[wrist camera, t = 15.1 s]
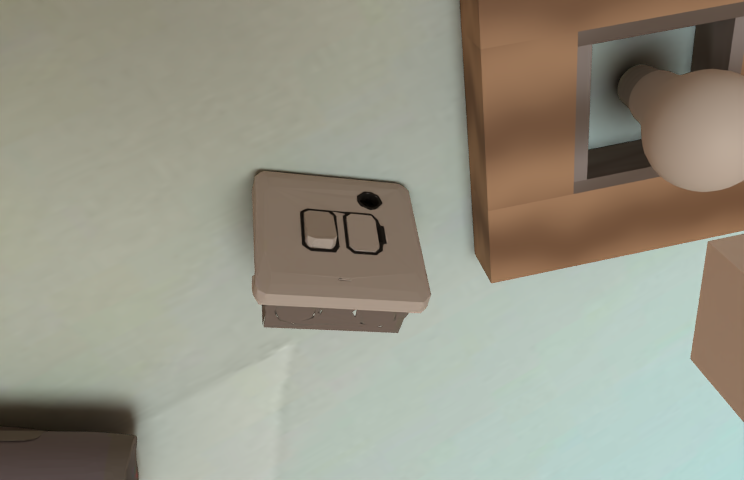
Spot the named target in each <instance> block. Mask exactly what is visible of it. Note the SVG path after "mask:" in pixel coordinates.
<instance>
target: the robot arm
mask: <svg viewBox="0 0 744 480" xmlns="http://www.w3.org/2000/svg"><path fill="white" fill-rule="evenodd" d="M690 359H691V360H692V361H693V363H694V364H695V365H696V366H697V367H698V368H699V370H700V371H701V372H702V373H703V374H704V376H705V377H706V378H707V379H708V380H709V381H710V383H711V384H712V385H713V386H714V387H715V389H716V390H717V391H718V392H719V393H720V395H721V396H722V397H723V398H724V399H725V400H726V402H727V403H728V404H729V405H730V406H731V408H732V409H733V410H734V411H735V412H736V413H737V415H738V416H739V417H740V418H741V419H742V421H743V422H744V234H741V235H736V236H731V237H726V238H722V239H717V240H712V241H708V244H707V251H706V258H705V264H704V271H703V278H702V284H701V291H700V298H699V305H698V311H697V318H696V325H695V331H694V338H693V345H692V351H691V358H690Z"/></svg>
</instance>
